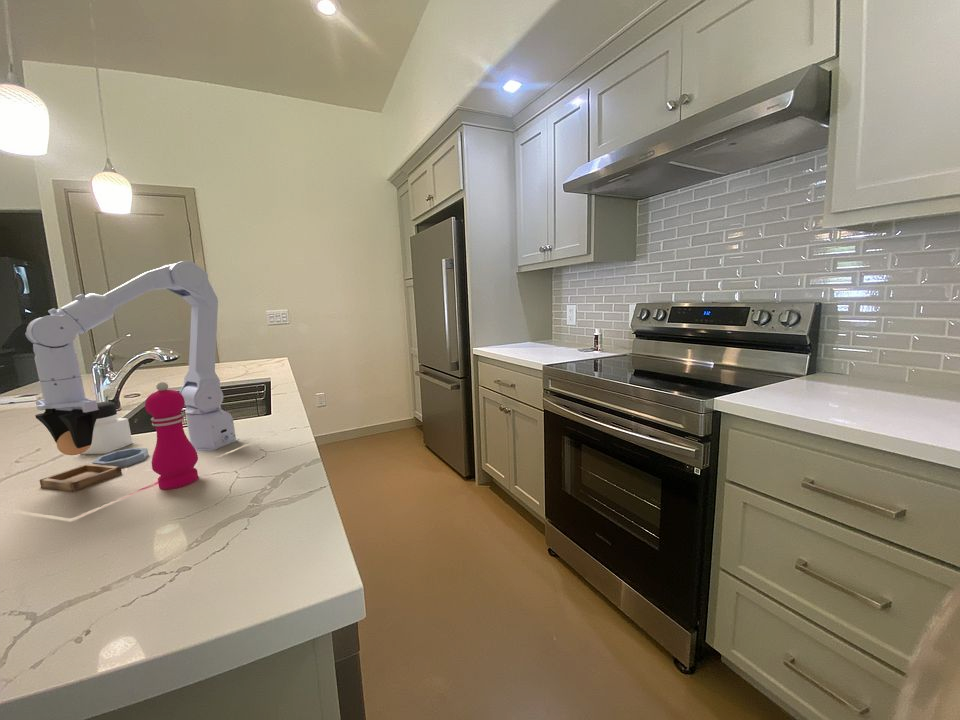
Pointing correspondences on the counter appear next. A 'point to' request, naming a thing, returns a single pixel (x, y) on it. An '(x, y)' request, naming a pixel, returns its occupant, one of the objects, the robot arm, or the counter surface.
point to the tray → (80, 477)
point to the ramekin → (122, 457)
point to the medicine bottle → (109, 431)
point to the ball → (69, 445)
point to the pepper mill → (171, 439)
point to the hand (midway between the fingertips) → (75, 445)
